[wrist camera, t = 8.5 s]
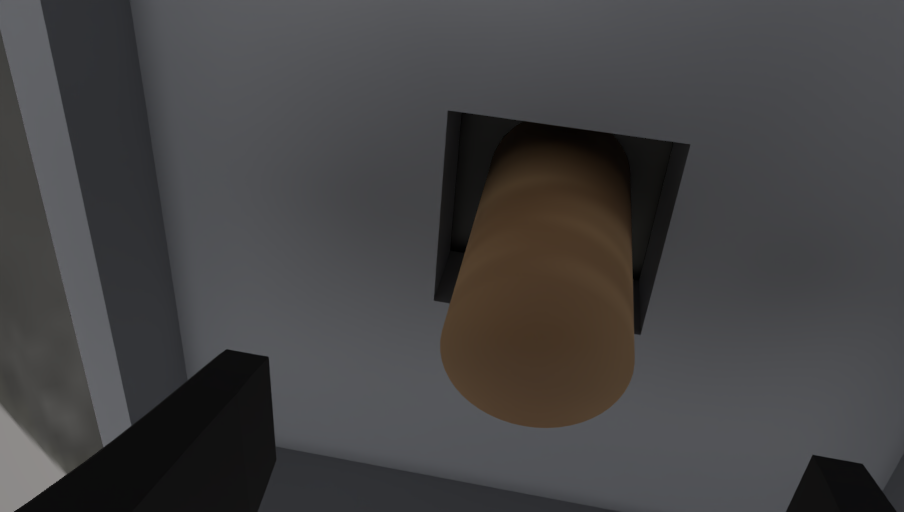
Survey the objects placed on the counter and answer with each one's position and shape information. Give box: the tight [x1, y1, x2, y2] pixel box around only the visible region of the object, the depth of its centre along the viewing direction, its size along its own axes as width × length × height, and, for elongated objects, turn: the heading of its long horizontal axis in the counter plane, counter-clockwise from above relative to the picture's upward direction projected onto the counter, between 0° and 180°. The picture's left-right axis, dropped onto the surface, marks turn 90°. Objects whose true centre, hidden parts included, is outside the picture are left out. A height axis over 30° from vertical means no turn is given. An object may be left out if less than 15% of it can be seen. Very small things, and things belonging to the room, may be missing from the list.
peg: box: [440, 121, 635, 428], centre depth 15 cm, size 3×3×6 cm
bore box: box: [0, 0, 904, 512], centre depth 16 cm, size 18×17×4 cm
